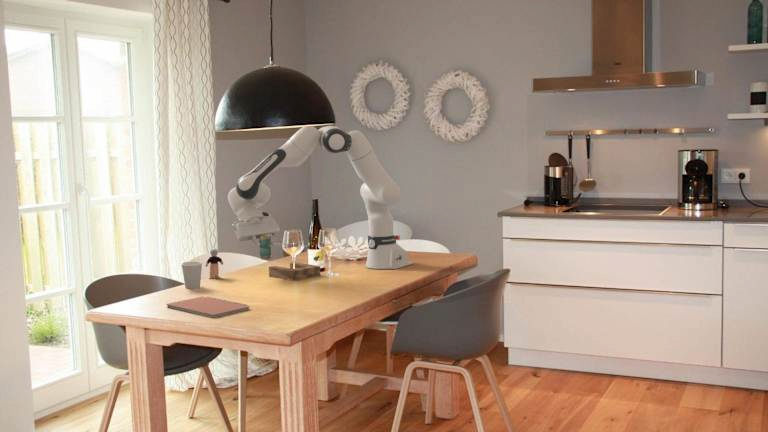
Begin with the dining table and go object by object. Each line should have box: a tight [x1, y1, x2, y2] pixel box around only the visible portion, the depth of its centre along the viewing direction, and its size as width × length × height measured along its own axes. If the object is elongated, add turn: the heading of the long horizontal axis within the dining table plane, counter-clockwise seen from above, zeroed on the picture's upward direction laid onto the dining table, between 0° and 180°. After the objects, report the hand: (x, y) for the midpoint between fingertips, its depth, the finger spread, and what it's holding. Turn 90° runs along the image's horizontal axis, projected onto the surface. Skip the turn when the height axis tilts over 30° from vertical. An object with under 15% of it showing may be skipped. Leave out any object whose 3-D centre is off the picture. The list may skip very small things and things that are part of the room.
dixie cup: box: [180, 260, 203, 290], centre depth 324 cm, size 8×8×10 cm
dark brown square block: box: [268, 261, 321, 282], centre depth 346 cm, size 15×16×4 cm
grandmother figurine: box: [204, 247, 224, 280], centre depth 344 cm, size 8×4×13 cm, turn 131°
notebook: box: [165, 296, 251, 318], centre depth 288 cm, size 27×17×2 cm, turn 49°
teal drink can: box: [258, 234, 272, 260], centre depth 340 cm, size 5×5×10 cm
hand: (266, 244), depth 339 cm, fingers closed on teal drink can, 5 cm apart
